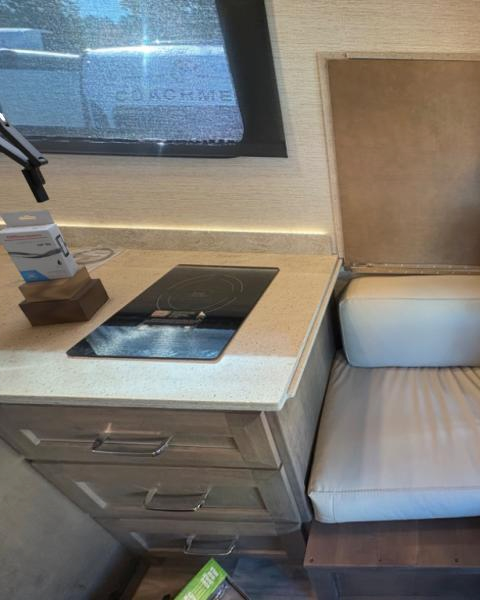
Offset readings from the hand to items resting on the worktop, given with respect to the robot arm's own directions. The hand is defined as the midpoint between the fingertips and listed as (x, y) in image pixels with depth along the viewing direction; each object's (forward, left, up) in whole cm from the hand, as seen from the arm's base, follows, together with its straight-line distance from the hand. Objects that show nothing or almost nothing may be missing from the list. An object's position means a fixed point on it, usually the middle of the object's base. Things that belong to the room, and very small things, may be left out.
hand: (3, 201), depth 69 cm
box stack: (+2, -1, -27) cm, 27 cm away
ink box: (+2, -1, -17) cm, 17 cm away
